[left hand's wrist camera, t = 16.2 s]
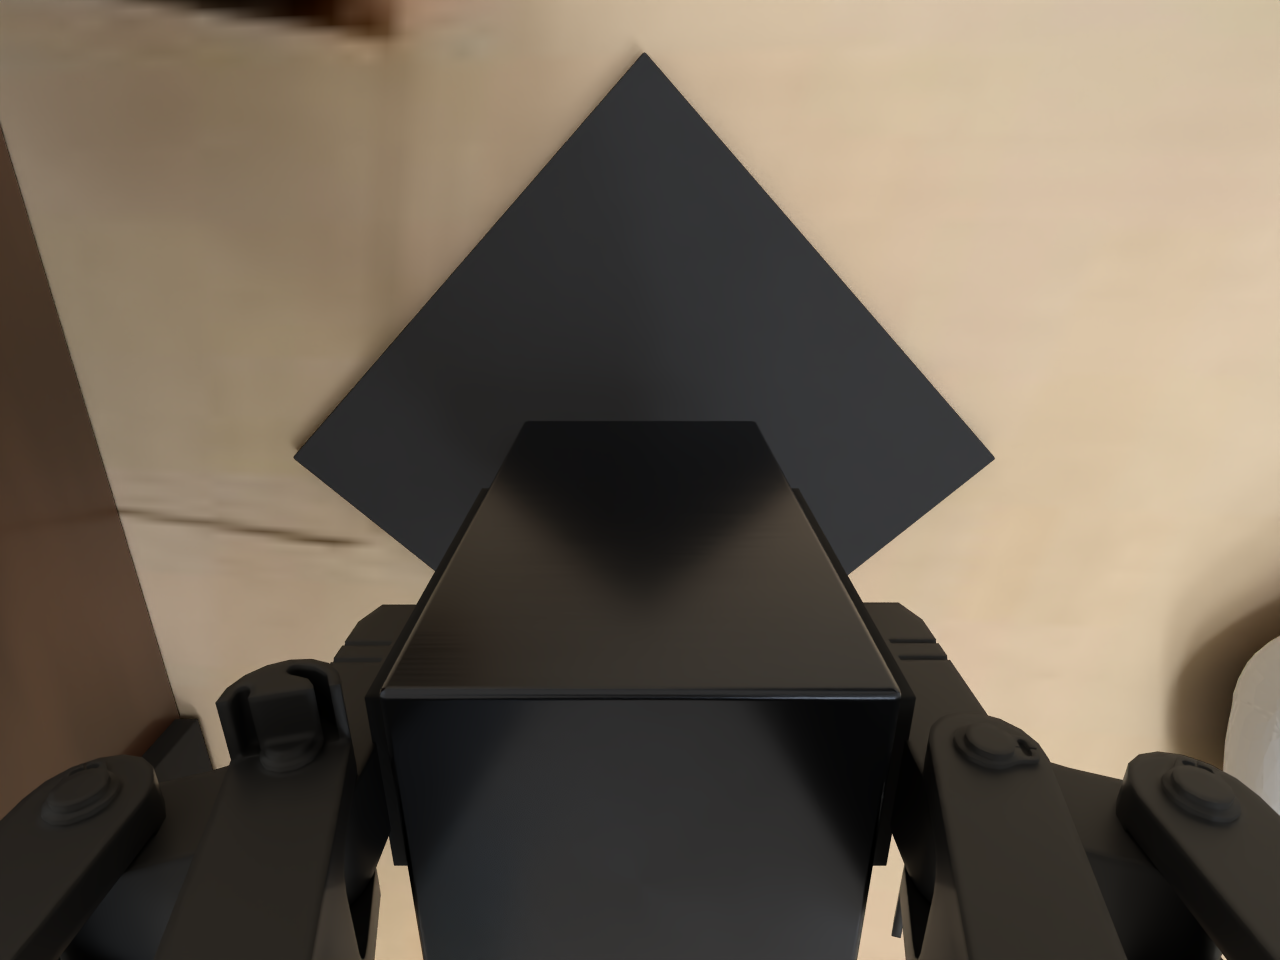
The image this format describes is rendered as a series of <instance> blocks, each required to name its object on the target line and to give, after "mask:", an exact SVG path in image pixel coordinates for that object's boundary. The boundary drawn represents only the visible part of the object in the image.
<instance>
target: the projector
mask: <svg viewBox="0 0 1280 960" xmlns="http://www.w3.org/2000/svg"><path fill="white" fill-rule="evenodd" d="M1223 771H1224V772H1226V773H1227V774H1229V775H1231V776H1233V777H1235V778H1237V779H1238V780H1239V781H1241V782H1242V783H1243V784H1245V785H1246V786H1247V787H1248V788H1250V789H1251V790H1252V791H1254V792H1255V793H1256V794H1257V795H1259V796H1260V797H1261V798H1262V799H1263V800H1264V801H1265V802H1266V803H1267V804H1268V805H1269V806H1270V807H1271V808H1272V809H1273V810H1274V811H1275V812H1276V813H1277V814H1279V815H1280V636H1278V637H1277V638H1275V639H1273V640H1272V641H1270V642H1268V643H1267V644H1266V645H1265V646H1264V647H1262V648H1261V649H1260V650H1259V651H1258V652H1256V653H1255V654H1254V655H1253V656H1252V658H1251V659H1250V660H1249V661H1248V662H1247V664H1246V666H1245V667H1244V669H1243V671H1242V673H1241V675H1240V676H1239V678H1238V681H1237V684H1236V687H1235V690H1234V693H1233V702H1232V709H1231V713H1230V718H1229V722H1228V728H1227V734H1226V740H1225V750H1224V765H1223Z"/></svg>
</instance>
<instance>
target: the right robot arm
mask: <svg viewBox="0 0 1280 960" xmlns="http://www.w3.org/2000/svg"><path fill="white" fill-rule="evenodd" d="M142 757H143V758H144V759H145V760H146V761H148V762H149V763H150V764H151V765H152V766H153V768H154V771H155V774H156V777H157V780H158V783H160V782H164V781H169V780H173V779H177V778H182V777H186V776H191V775H195V774H199V773H204V772H208V771H212V770H213V769H212V766H211V762H210V759H209V756H208V752H207V749H206V745H205V742H204V739H203V735H202V732H201V729H200V725H199V722H198V719H175V720H174V721H173V722H172V723H171V724H170V726H169V727H168V728H167V729H166V730H165V731H164V732H163V733H162V734H161V736H160V737H159V738H158V739H157V740H156V741H155V742H154V743H153V744H152V745H151V747H150V748H149V749H148V750H147V751H146V752H145V753H144V754H143V755H142ZM58 960H61V958H60V957H59V958H58Z"/></svg>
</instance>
